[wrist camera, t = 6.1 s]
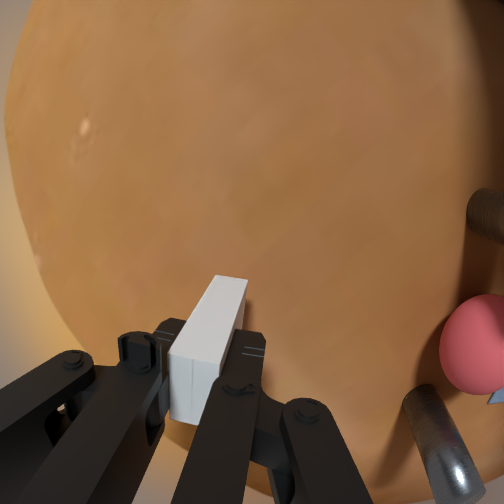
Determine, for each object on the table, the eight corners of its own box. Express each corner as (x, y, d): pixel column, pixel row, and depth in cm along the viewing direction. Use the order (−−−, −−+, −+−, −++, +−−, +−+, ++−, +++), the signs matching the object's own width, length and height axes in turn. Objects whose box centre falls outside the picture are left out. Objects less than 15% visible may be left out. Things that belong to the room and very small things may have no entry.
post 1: (411, 384, 17) (456, 494, 9) (442, 384, 17) (494, 483, 8) (397, 413, 18) (430, 520, 9) (428, 412, 18) (467, 510, 9)
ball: (458, 272, 16) (456, 299, 12) (533, 295, 13) (554, 330, 9) (431, 352, 18) (418, 398, 13) (500, 374, 15) (504, 425, 10)
